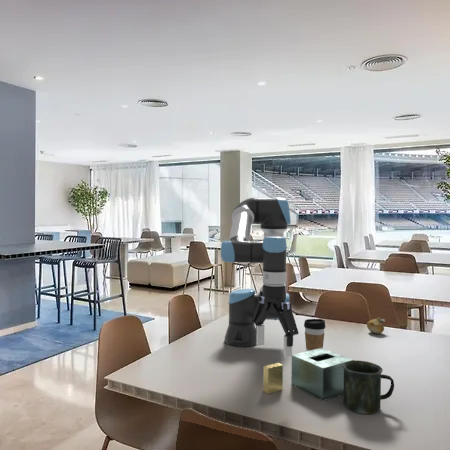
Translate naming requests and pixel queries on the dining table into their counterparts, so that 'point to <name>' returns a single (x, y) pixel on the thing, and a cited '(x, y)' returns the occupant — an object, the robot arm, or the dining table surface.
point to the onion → (376, 325)
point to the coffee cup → (314, 333)
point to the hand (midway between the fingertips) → (273, 350)
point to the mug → (364, 386)
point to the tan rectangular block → (273, 378)
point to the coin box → (319, 373)
